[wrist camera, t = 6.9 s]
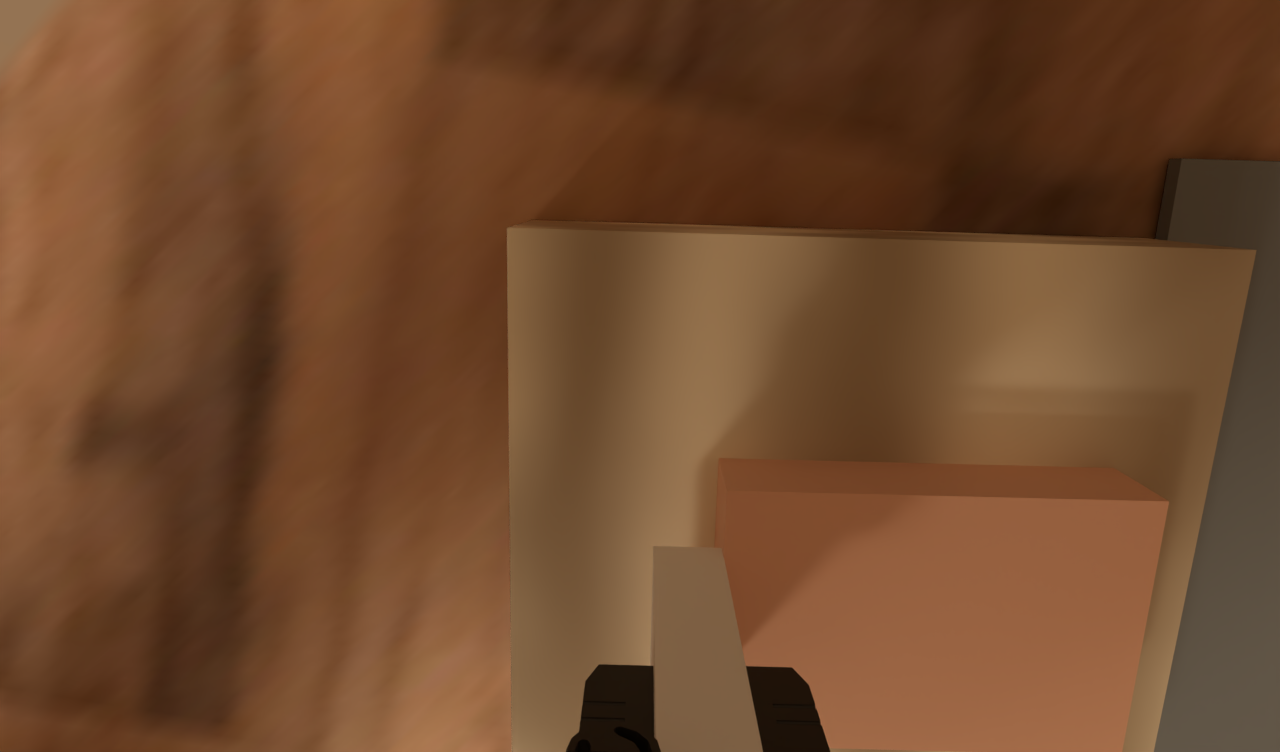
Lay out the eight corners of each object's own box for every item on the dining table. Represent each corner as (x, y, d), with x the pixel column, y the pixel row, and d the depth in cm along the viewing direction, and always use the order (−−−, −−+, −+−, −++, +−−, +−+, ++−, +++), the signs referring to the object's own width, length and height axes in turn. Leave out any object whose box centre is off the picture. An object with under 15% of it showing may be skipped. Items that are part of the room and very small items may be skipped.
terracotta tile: (707, 690, 20) (714, 745, 18) (718, 458, 18) (727, 490, 16) (1074, 699, 20) (1120, 755, 18) (1113, 467, 18) (1169, 501, 16)
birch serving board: (533, 748, 25) (512, 852, 21) (533, 219, 21) (506, 227, 17) (1053, 763, 25) (1128, 872, 21) (1143, 238, 21) (1256, 250, 17)
